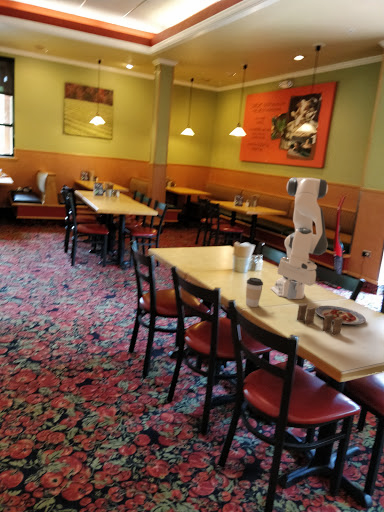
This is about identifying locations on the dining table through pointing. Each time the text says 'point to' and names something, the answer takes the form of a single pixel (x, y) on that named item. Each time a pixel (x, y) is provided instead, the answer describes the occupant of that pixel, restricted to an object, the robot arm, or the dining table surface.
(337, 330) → the tile
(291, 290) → the tile
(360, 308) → the dining table surface
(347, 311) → the ceramic plate
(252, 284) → the coffee cup
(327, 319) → the tile
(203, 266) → the dining table surface
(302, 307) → the tile
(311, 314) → the tile
